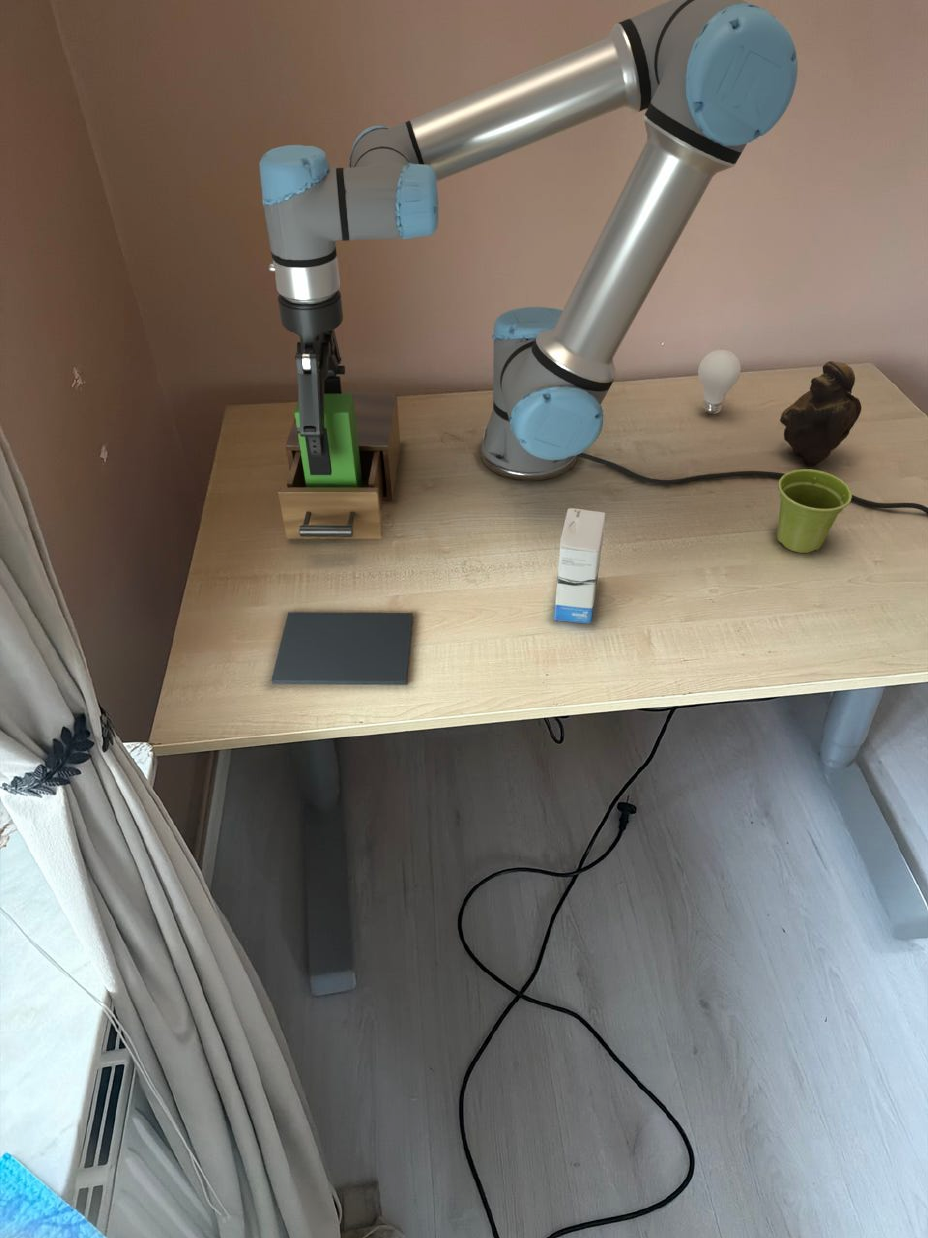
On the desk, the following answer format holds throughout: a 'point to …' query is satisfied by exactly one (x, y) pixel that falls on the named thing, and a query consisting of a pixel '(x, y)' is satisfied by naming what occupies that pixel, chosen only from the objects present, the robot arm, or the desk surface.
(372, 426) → the cabinet
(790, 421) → the sculpture
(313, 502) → the drawer
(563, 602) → the ink box
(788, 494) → the plant pot
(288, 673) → the slate mat
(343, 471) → the tall green prism
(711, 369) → the light bulb
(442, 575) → the desk surface
